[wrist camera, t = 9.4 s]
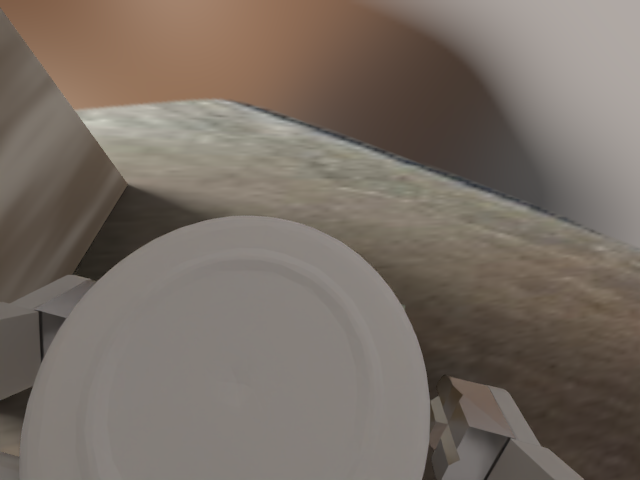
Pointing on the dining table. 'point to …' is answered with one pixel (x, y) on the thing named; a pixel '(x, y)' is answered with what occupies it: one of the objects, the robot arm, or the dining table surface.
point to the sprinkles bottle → (232, 366)
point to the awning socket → (45, 175)
